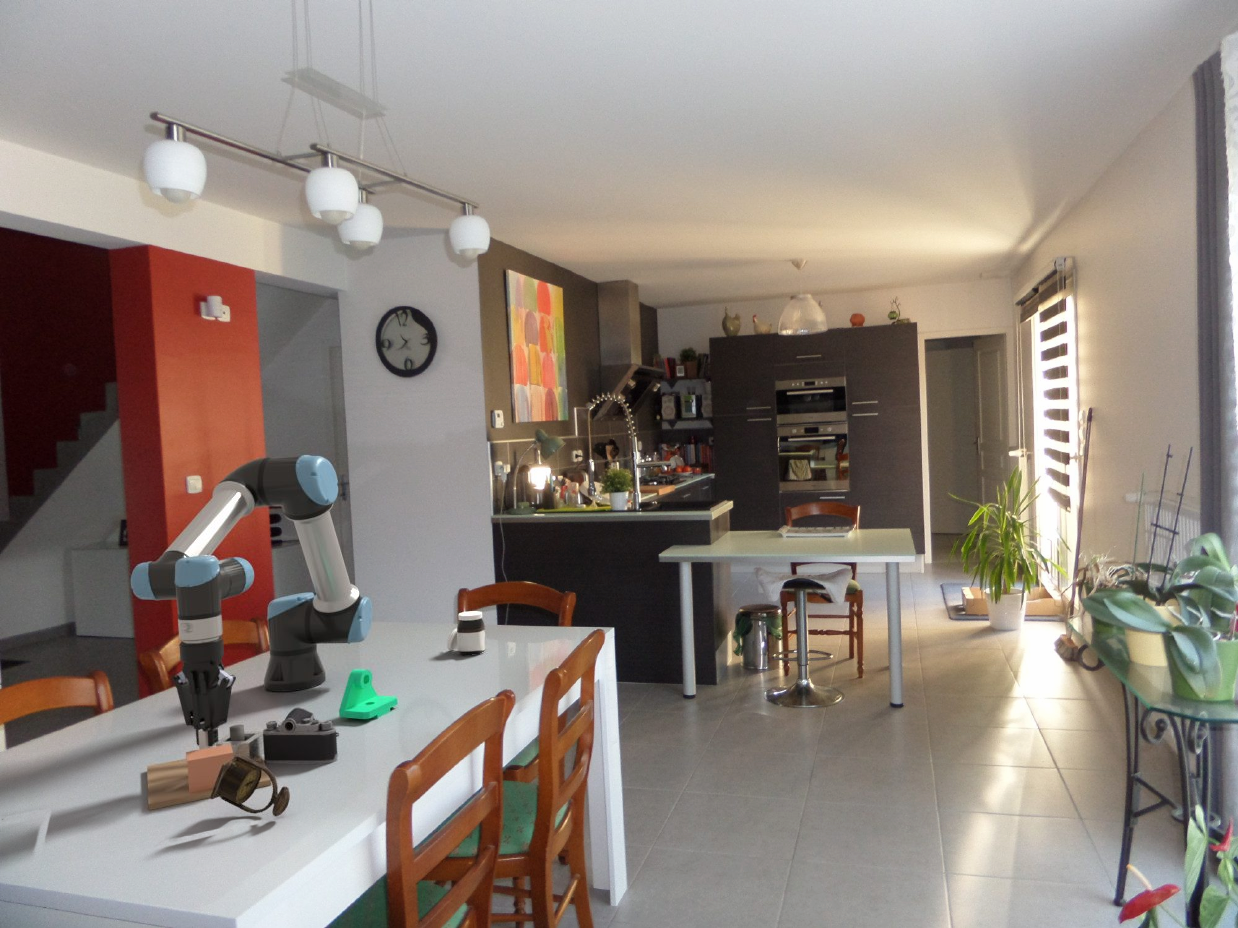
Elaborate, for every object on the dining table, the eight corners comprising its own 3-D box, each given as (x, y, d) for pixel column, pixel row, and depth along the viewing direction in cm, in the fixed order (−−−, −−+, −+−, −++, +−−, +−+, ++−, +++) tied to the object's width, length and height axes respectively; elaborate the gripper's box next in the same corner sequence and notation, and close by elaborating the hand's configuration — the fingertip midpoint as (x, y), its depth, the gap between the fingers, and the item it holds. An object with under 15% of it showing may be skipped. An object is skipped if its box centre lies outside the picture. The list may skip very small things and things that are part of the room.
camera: (352, 749, 185) (349, 700, 185) (333, 764, 177) (331, 713, 176) (280, 748, 187) (278, 700, 187) (259, 763, 179) (256, 713, 179)
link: (222, 783, 166) (221, 761, 166) (186, 783, 167) (185, 762, 166) (267, 750, 183) (265, 731, 183) (233, 751, 184) (232, 731, 183)
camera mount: (367, 724, 202) (365, 678, 201) (339, 721, 204) (337, 676, 204) (399, 708, 213) (397, 664, 212) (372, 705, 215) (370, 662, 215)
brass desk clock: (224, 806, 158) (221, 749, 157) (300, 801, 159) (296, 744, 158) (209, 824, 151) (205, 764, 150) (288, 818, 152) (285, 759, 151)
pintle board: (147, 770, 177) (145, 735, 177) (257, 750, 187) (255, 716, 186) (148, 809, 158) (146, 770, 158) (271, 784, 167) (269, 747, 167)
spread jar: (482, 657, 258) (480, 616, 258) (442, 658, 258) (440, 617, 258) (489, 647, 270) (487, 608, 270) (451, 648, 270) (449, 609, 270)
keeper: (187, 783, 167) (186, 751, 167) (232, 774, 170) (230, 743, 170) (189, 793, 162) (187, 760, 162) (235, 783, 166) (233, 752, 165)
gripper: (157, 642, 170) (165, 767, 171) (215, 644, 166) (223, 771, 167) (187, 633, 177) (195, 752, 178) (243, 635, 173) (251, 757, 174)
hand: (208, 761), depth 173 cm, fingers closed
